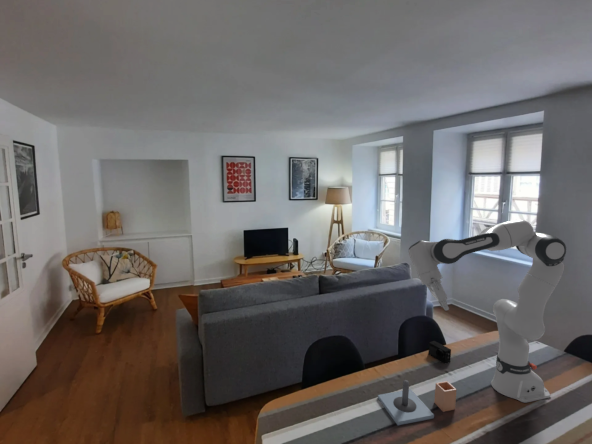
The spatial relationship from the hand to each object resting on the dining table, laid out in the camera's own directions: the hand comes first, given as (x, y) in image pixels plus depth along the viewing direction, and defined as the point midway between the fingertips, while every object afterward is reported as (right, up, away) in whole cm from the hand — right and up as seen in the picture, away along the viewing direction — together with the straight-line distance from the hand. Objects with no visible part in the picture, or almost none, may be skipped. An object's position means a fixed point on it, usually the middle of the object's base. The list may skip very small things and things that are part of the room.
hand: (445, 308), depth 140 cm
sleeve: (-2, -40, -3) cm, 40 cm away
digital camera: (+11, -35, +33) cm, 50 cm away
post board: (-18, -40, -4) cm, 44 cm away
